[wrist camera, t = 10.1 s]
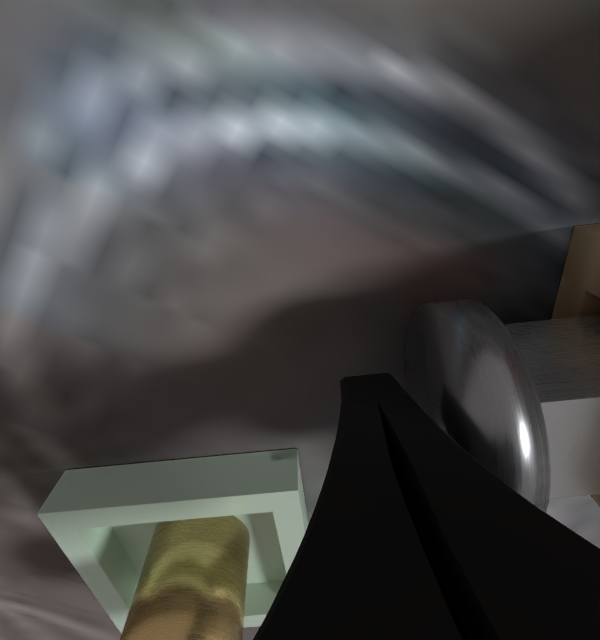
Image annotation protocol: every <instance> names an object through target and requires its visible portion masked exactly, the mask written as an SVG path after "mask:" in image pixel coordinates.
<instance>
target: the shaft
mask: <svg viewBox="0 0 600 640" xmlns="http://www.w3.org/2000/svg"><path fill="white" fill-rule="evenodd" d="M405 378H406V390H407V394H408V395H409V396H410V397H411V398H412V399H413V400H414V401H415V402H416V403H417V404H418V405H419V406H420V408H421V409H422V410H423V411H424V412H425V413H426V414H427V415H428V416H429V417H430V418H431V419H432V420H433V421H434V422H435V423H436V424H437V425H438V426H439V427H441V428H442V429H443V430H444V431H445V432H446V433H447V434H448V435H449V436H450V437H451V438H452V439H453V440H454V441H455V442H456V443H458V444H459V445H460V446H461V447H462V448H463V449H464V450H465V451H467V452H468V453H469V454H470V455H471V456H472V457H473V458H475V459H476V460H477V461H478V462H479V463H480V464H482V465H483V466H484V467H485V468H486V469H488V470H489V471H490V472H491V473H493V474H494V475H495V476H496V477H498V478H499V479H500V480H502V481H503V482H504V483H505V484H507V485H508V486H509V487H511V488H512V489H513V490H514V491H516V492H517V493H518V494H520V495H521V496H523V497H524V498H525V499H527V500H528V501H529V502H531V503H532V504H534V505H535V506H536V507H538V508H539V509H540V510H542V511H543V512H545V513H546V511H547V507H548V503H549V499H551V498H563V497H574V496H586V495H597V494H600V315H591V316H582V317H572V318H562V319H552V320H542V321H532V322H523V323H513V324H503V322H502V321H501V320H500V319H499V318H498V317H497V316H496V315H495V314H494V312H493V311H491V310H490V309H489V308H488V307H486V306H485V305H484V304H482V303H480V302H478V301H475V300H471V299H463V300H453V301H444V302H434V303H424V304H421V305H419V306H418V307H417V308H416V309H415V311H414V313H413V314H412V317H411V319H410V322H409V326H408V331H407V336H406V346H405Z"/></svg>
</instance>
